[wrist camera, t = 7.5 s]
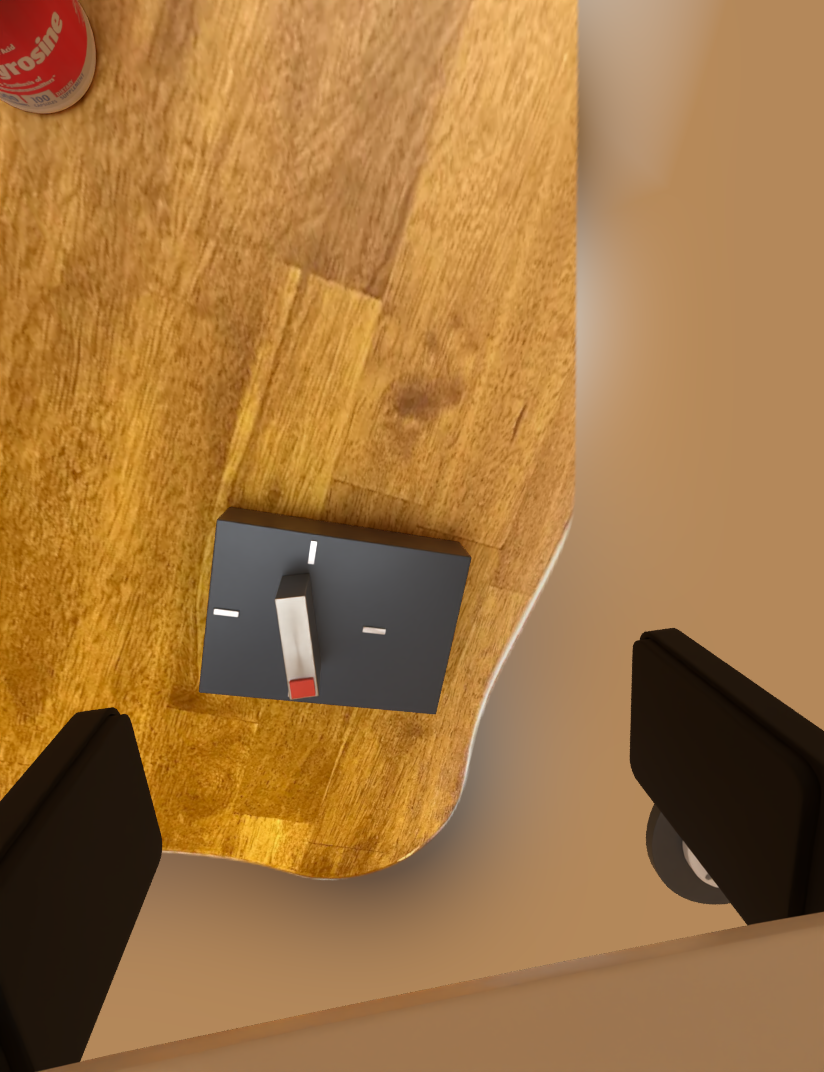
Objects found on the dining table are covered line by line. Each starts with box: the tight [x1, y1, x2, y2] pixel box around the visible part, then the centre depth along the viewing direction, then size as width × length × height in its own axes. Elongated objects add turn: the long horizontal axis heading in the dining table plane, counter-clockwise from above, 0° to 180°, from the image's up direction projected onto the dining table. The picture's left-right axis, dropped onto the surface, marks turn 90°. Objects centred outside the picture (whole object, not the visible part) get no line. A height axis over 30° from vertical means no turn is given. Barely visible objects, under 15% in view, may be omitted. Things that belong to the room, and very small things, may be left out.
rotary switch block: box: [199, 507, 471, 714], centre depth 34 cm, size 15×11×4 cm
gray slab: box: [275, 574, 321, 700], centre depth 30 cm, size 6×2×4 cm, turn 4°
